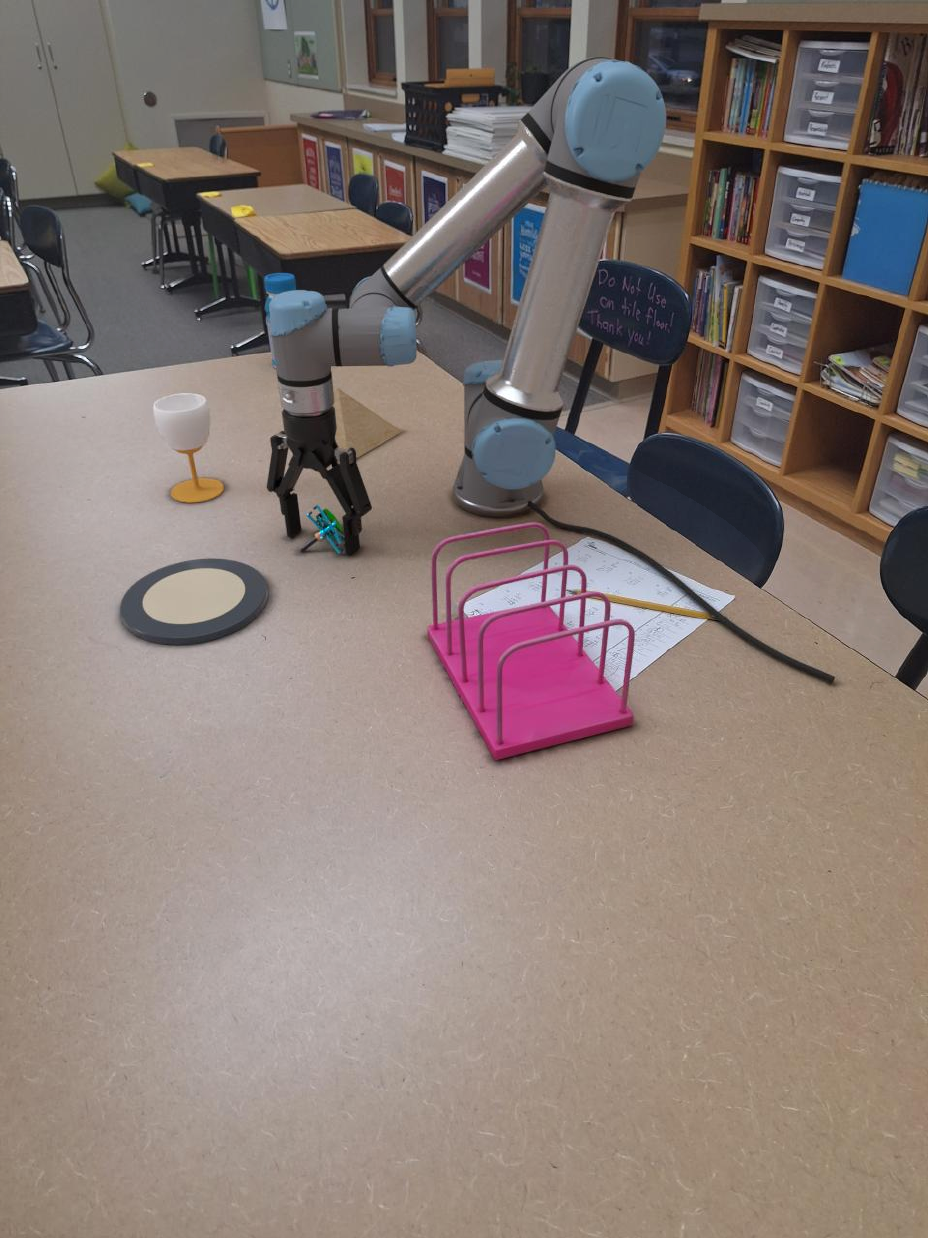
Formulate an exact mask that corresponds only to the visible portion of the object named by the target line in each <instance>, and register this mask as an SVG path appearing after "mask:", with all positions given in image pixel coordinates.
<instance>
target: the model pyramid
mask: <svg viewBox="0 0 928 1238" xmlns="http://www.w3.org/2000/svg"><path fill="white" fill-rule="evenodd" d="M334 400H335V402H334V405H333V407H334V408H335V414H336V425H337V431H336V435H335V440H336V443H337V445H338V447H339V448H342V449H346V450H348V449H349V448H351V447H352V448H354V449H355V451H356V459H358V458H360V457H362V456H363V455H365V454H367V453H368V452H370V451H372V450H373V449H375V448H377V447H378V446H380V445H382V444H384V443H385V442H387V441H389V440H391V439H392V438H394V437H396V436H398V435H399V434H401V433H402V432H403V431H402V430H400V429H399V428H398V427H396V426H394V425H393V424H392V423H391V422H389V421H388V420H386V419H385V418H383V417H382V416H380V415H379V414H377V413H376V412H374V411H372V410H371V409H370V408H368V407H367V406H365V405H364V404H363V403H361V402H360V401H358V400H357V399H355V398H354V397H352V395H351V396H350V395H349V394H348V393H346V392H345V391H344V390H342V389H341V388H339V387H337V389H335V390H334ZM336 458H337V457H336ZM337 460H338V458H337Z"/></svg>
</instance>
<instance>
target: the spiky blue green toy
mask: <svg viewBox="0 0 928 1238" xmlns="http://www.w3.org/2000/svg"><path fill="white" fill-rule="evenodd" d="M316 509H317V510H318V512H319V513H317V514H316V515H315V518H313V516H312V514H313V511H309V512H308V513H306V517H307V518H308V519H309V520H310V521H311V522H312V523H313V525H315V526H316V527H317V530H316V531H315V532H314V537H312V538H311V539H310V540H309V541H307V542H305V544H303V545H302V546H301V547H300V548H299V551H300V552H301V553H304V552H306V551H307V550H308V549H309V548H311V547H312V546H313V545H315V544H316V543H317V542H322V541H323V540H324V539H325V538H326V539H327V541H328V542H329V543H330V544H331V546H332V547H333V549H334V550H335V551H336V553H337V554H338V555H341V554H342V553H343V552H344V550H345V549H343V548H342V549H339V548H338V547H339V546H340V545H341V544H342V541H343V542H344V544H343V547H344V548H345V540H344V534H342V533H341V532H342V531H343V526H342V525H341V523H340V521H339V520H338V518H337V517H336V516H335V514H333V512H331V511H330V510H329V509H328V508H323V509H322V508H321V506H320V505H319V504H315V506H314V507H312V510H314V511H316ZM315 519H316V520H315ZM341 540H342V541H341ZM334 541H336V542H337V543H335V542H334Z"/></svg>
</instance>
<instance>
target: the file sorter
mask: <svg viewBox="0 0 928 1238" xmlns="http://www.w3.org/2000/svg"><path fill="white" fill-rule="evenodd" d="M531 528H535V529H540V530H541V531H542V532H543V534H544V540H539V541H533V542H527V543H523V544H522V543H521V544H516V545H511V546H507V547H506V546H505V547H501V548H495V549H490V550H484V551H478V552H474V553H470V554H464V555H462V556H460V557H458V558H456V559H455V560H454V561H453V562H452V563H451V564H450V565H449V567H448V568H447V570H446V574H445V616H446V620H445V621H444V622H440V623H439V618H438V616H439V615H438V587H437V586H438V584H437V583H438V582H437V558H438V554H439V552H440V551H441V550H442V548H444V547H445V546H446V545H448V544H451V543H454V542H459V541H464V540H471V539H475V538H481V537H487V536H489V535H490V536H491V535H497V534H502V533H506V532H514V531H520V530H525V529H531ZM550 546H556V547H559V548H560V549H561V551H562V557H563V559H562V561H563V562H562V565H559V566H555V567H549V559H550V557H549V556H550ZM542 547H544V551H543V552H544V553H543V567H542V569H540V570H535V571H531V572H527V573H523V574H519V575H518V574H517V575H514V576H510V577H506V578H505V577H504V578H501V579H497V580H493V581H489V582H488V581H487V582H485V583H481V584H478V585H475V586H473V587H471V588H470V589H468V590H467V591H466V592H464V593H463V595H462V596H461V598H460V600H459V602H458V608H457V614H458V615H457V617H458V619H454V620H452V575H453V572H454V570H455V569H456V568H457V567H458V566H459V565H460V564H462V563H464V562H467V561H470V560H477V559H481V558H486V557H491V556H495V555H502V554H508V553H513V552H518V551H523V550H530V549H534V548H535V549H536V548H542ZM430 559H431V562H430V563H431V564H430V565H431V566H430V567H431V569H430V570H431V598H432V600H431V601H432V624H430V625H427V627H426V628H427V629H426V630H427V633H426V635H427V636H426V637H427V638H428V640H429V641H430V642H429V643H430V644H431V645H432V648H433V650H435V653H436V654H437V656H438V658H439V660H440V662H441V664H442V665H443V667H444V670H445V671H446V673H447V675H448V677H449V679H450V681H451V682H452V684H453V687H454V688H455V689H456V691H457V693H458V696H459V697H460V699H461V701H462V702H463V705H464V706H465V708H466V710H467V711H468V713H469V716H470V718H471V719H472V721H473V722H474V724H475V726H476V728H477V730H478V733H480V736H481V738H482V739H483V741H484V743H485V744H486V745H485V746H486V747H487V749H488V751H489V752H490V754H491V756H492V759H494V760H495V761H497V760H502V759H507V758H509V757H514V756H517V755H521V754H525V753H528V752H532V751H533V752H534V751H536V750H540V749H545V748H548V747H552V746H557V745H560V744H564V743H568V742H572V741H576V740H579V739H583V738H587V737H592V736H596V735H599V734H604V733H607V732H611V731H615V730H620V729H624V728H628V727H631V726H633V723H634V712H633V711H632V710H631V709H630V707H629V706H628V705H627V704H628V697H629V690H630V681H631V675H632V674H631V673H632V665H633V658H634V648H635V647H634V646H635V639H636V631H635V628H634V627H633V625H632V624H631V623H630V622H629V621H627V620H625V619H622V618H616V619H611V609H612V607H611V605H612V604H611V601H610V599H609V598H608V596H606V594H605V593H603V592H600V591H595V590H594V591H593V590H592V591H587V587H588V586H587V585H588V584H587V583H588V579H587V574H586V572H585V571H584V570H583V569H582V568H581V567H580V566H579V565H575V564H569V551H568V548H567V547H566V545H565V544H564V543H563V542H561V541H560V540H557V539H550V533H549V530H548V529H547V527H546V526H545V525H544V524H542V523H539V522H534V521H533V522H527V523H519V524H514V525H508V526H502V527H496V528H491V529H486V530H480V531H474V532H471V533H470V532H468V533H464V534H459V535H454V536H449V537H447V538H445V539H443V540H441V541H440V542H439V543H438V544H437V545H436V546H435V547H434V549H433V551H432V554H431V558H430ZM568 571H574V572H577V573H578V574H579V575H580V581H581V583H580V584H581V585H580V593H577V594H572V595H568V596H566V594H567V583H568V573H569V572H568ZM561 572H562V573H561ZM555 573H561V575H562V576H561V586H560V597H558V598H554V599H550V600H547V598H546V597H547V588H548V587H547V585H548V575H551V574H555ZM537 577H538V578H539V577H542V582H541V595H540V602H535V603H531V604H526V605H523V606H517V607H511V608H508V609H502V610H498V611H493V612H486V613H483V614H478V615H472V616H467V617H465V614H464V613H465V611H464V610H465V605H466V602H467V601H468V599H469V598H470V597H471V596H472V595H474V594H476V593H478V592H480V591H483V590H488V589H493V588H496V587H499V586H503V585H504V586H505V585H508V584H512V583H516V582H522V581H526V580H529V579H534V578H537ZM589 598H600V599H601V600H603V602H604V617H603V621H600V622H596V623H593V624H588V625H585V621H586V604H587V599H589ZM579 600H580V604H579V621H578V622H579V624H578V627H575V628H571V629H568V628H567V626H566V625H565V624H564V620H565V618H564V617H565V610H566V609H565V607H566V603H569V602H575V601H579ZM556 605H559V611H558V614H559V615H557V614H556V612H555V611H554V610H553V608H552V606H556ZM614 626H623V627H626V628H627V630H628V637H627V649H626V657H625V665H624V673H623V679H622V680H623V681H622V692H621V696H620V695H619V694H618V692H617V691H616V690H615V688H614V687H613V686H612V685H611V683H610V682H609V680H607V678H606V677H605V676H604V675H605V670H606V669H605V668H606V659H607V651H608V650H607V649H608V640H609V632H610V627H614ZM600 629H601V630H602V636H601V648H600V655H599V656H600V657H599V665H598V667H597V665H596V664H595V662H594V661H593V660H592V659H591V658H590V656H589V655H588V654H587V652H586V651H585V650H584V636H585V635H584V634H585V633H588V632H592V631H596V630H600ZM576 635H578V636H577V640H576V637H574V636H576Z"/></svg>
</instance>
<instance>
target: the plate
mask: <svg viewBox="0 0 928 1238" xmlns="http://www.w3.org/2000/svg"><path fill="white" fill-rule="evenodd" d="M268 598H269V592H268V585H267V582H266V579H265V578H264V576H263V574H262V573H260V571H258V570H257V569H256V568H254V567H252V566H251V565H249V564H246V563H244V562H241V561H237V560H234V559H233V560H232V559H225V558H211V557H210V558H197V559H190V560H184V561H180V562H176V563H172V564H168V565H166V566H163V567H160V568H158V569H156V570H154V571H152V572H149V573H148V574H145V576H143V577H141V578H140V579H138V580H137V581H136V582H134V583H133V584H132V585H131V586H130V587H129V588H128V589H127V590H126V592H125V593H124V595H123V596H122V599H121V601H120V606H119V608H120V609H119V611H120V616H121V619H122V622H123V624H124V627H125V628H126V629H127V630H128V631H129V632H130V633H131V634H133V635H134V636H136V637H138V638H140V639H142V640H144V641H147V642H150V643H155V644H158V645H159V644H160V645H166V646H167V645H168V646H169V645H170V646H186V645H194V644H201V643H206V642H211V641H215V640H217V639H221V638H223V637H226V636H229V635H231V634H233V633H235V632H238V631H239V630H241V629H242V628H243V629H244V628H245V627H246V626H247V625H249V624H250V623H252V622H253V621H254V620H255V619H256V618H257V617H258V616H259V615H260V614H261V613H262V612H263V610H264V608H265V607H266V604H267V602H268Z"/></svg>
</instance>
